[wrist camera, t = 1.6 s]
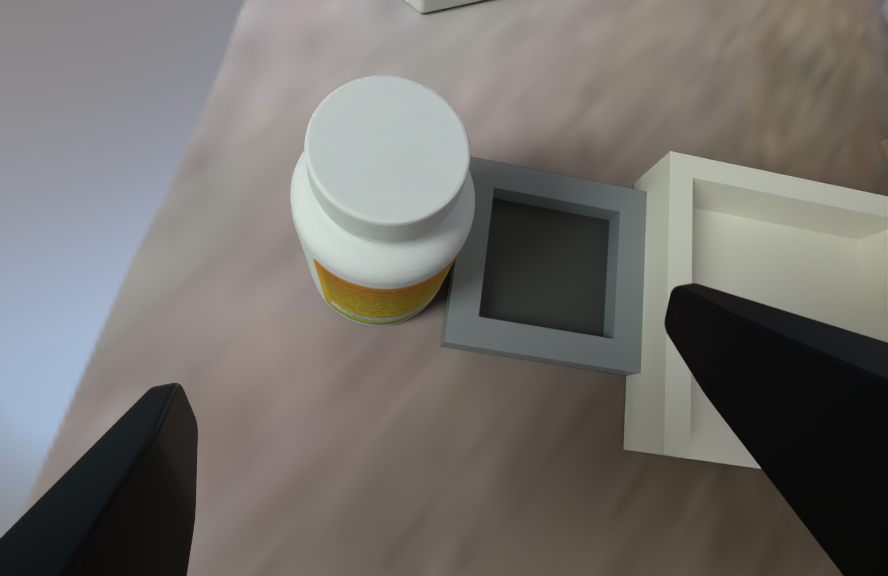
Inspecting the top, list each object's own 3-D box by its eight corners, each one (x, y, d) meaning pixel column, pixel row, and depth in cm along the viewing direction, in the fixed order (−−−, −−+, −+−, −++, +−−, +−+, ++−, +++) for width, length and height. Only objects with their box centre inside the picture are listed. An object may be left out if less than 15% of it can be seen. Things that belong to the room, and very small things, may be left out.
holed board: (626, 375, 22) (640, 373, 21) (440, 346, 21) (444, 342, 20) (633, 202, 24) (646, 191, 23) (464, 169, 23) (469, 156, 22)
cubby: (885, 486, 23) (961, 495, 20) (623, 449, 21) (663, 453, 18) (864, 228, 26) (926, 204, 23) (634, 182, 25) (670, 151, 22)
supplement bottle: (466, 288, 22) (542, 190, 13) (352, 353, 21) (344, 296, 11) (402, 183, 23) (429, 18, 14) (288, 238, 21) (230, 98, 12)
